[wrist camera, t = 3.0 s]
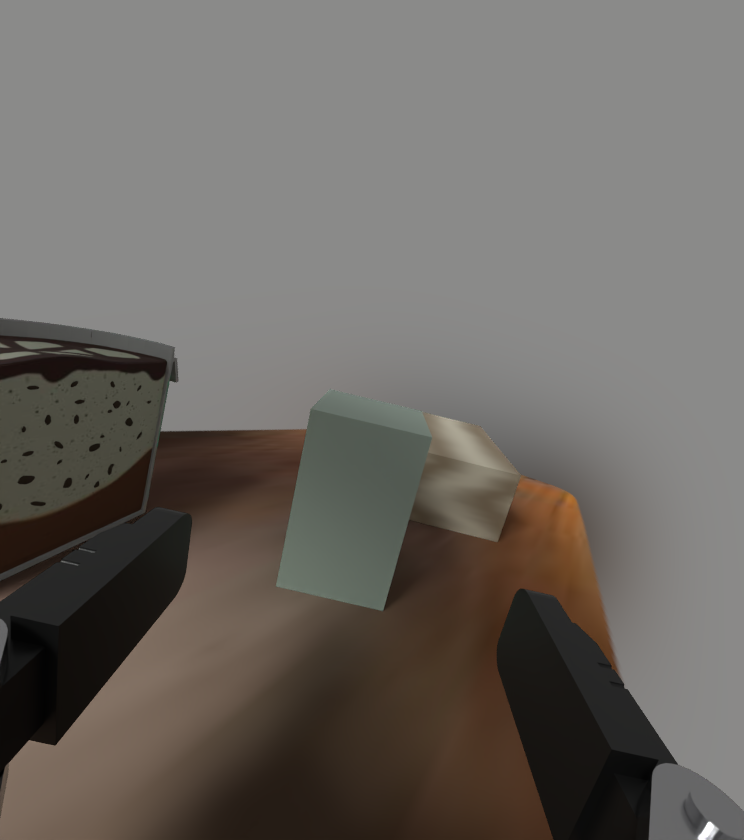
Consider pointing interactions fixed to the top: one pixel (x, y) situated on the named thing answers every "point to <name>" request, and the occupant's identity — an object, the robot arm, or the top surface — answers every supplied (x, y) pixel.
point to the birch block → (464, 481)
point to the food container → (74, 434)
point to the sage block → (353, 498)
